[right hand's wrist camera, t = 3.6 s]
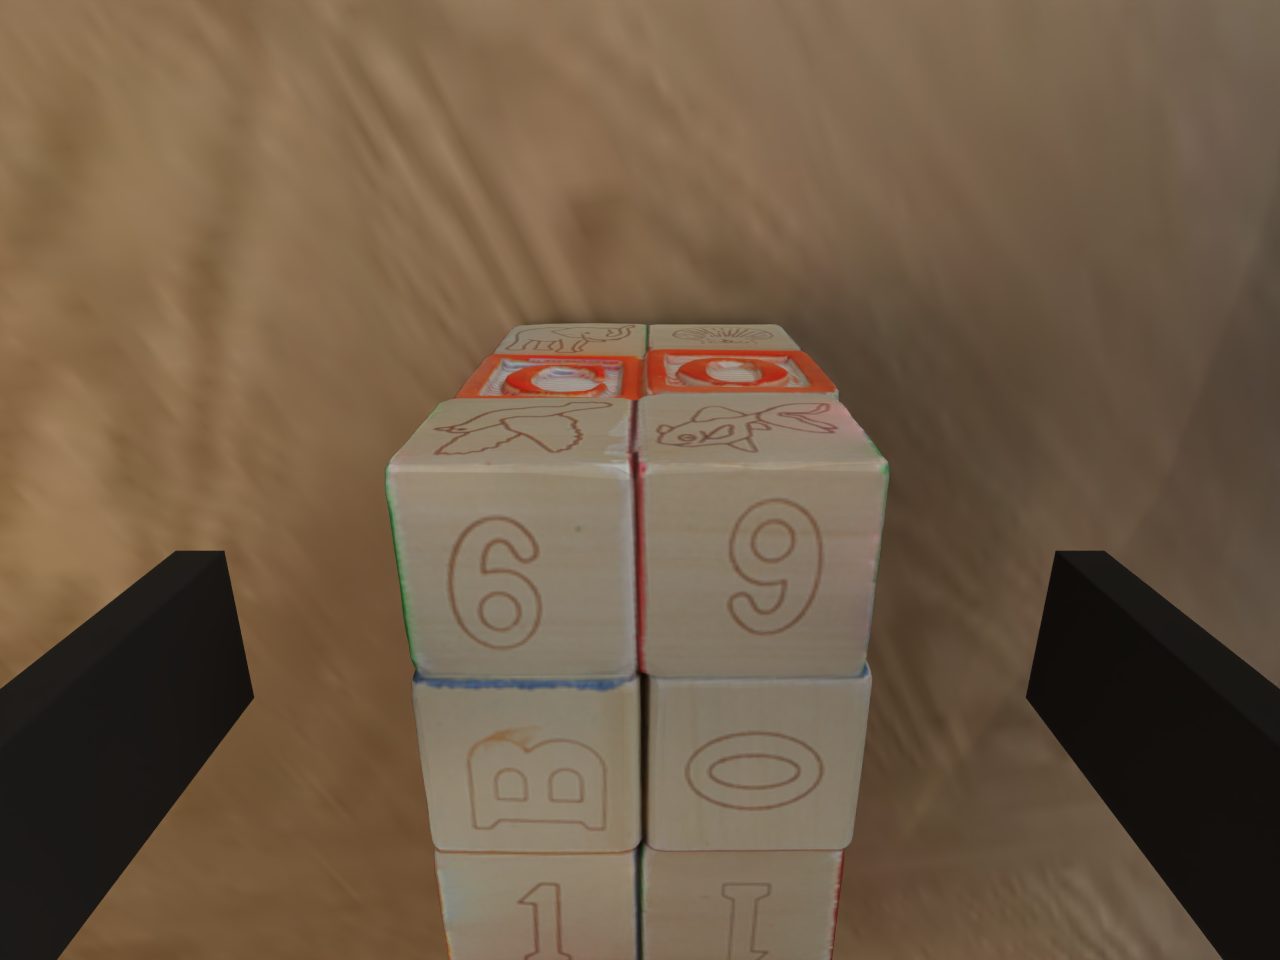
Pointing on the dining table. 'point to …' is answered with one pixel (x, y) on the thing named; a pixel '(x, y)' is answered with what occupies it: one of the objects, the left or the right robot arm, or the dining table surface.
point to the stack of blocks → (640, 642)
